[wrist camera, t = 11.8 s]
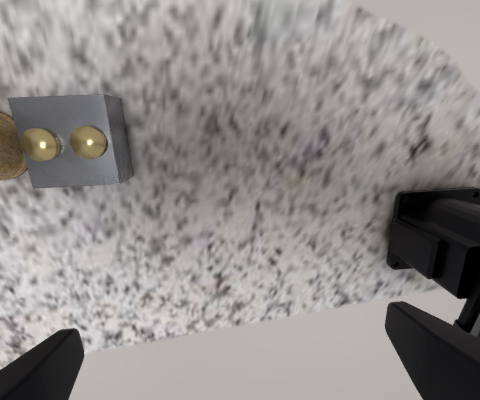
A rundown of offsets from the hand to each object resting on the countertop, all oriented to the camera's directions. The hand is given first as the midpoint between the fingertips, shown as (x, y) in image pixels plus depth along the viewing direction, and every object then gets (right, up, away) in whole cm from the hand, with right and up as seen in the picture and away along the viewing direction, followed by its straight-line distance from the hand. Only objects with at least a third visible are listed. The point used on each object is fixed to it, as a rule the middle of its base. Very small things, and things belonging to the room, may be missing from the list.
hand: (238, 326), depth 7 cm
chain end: (-10, +8, +9) cm, 16 cm away
